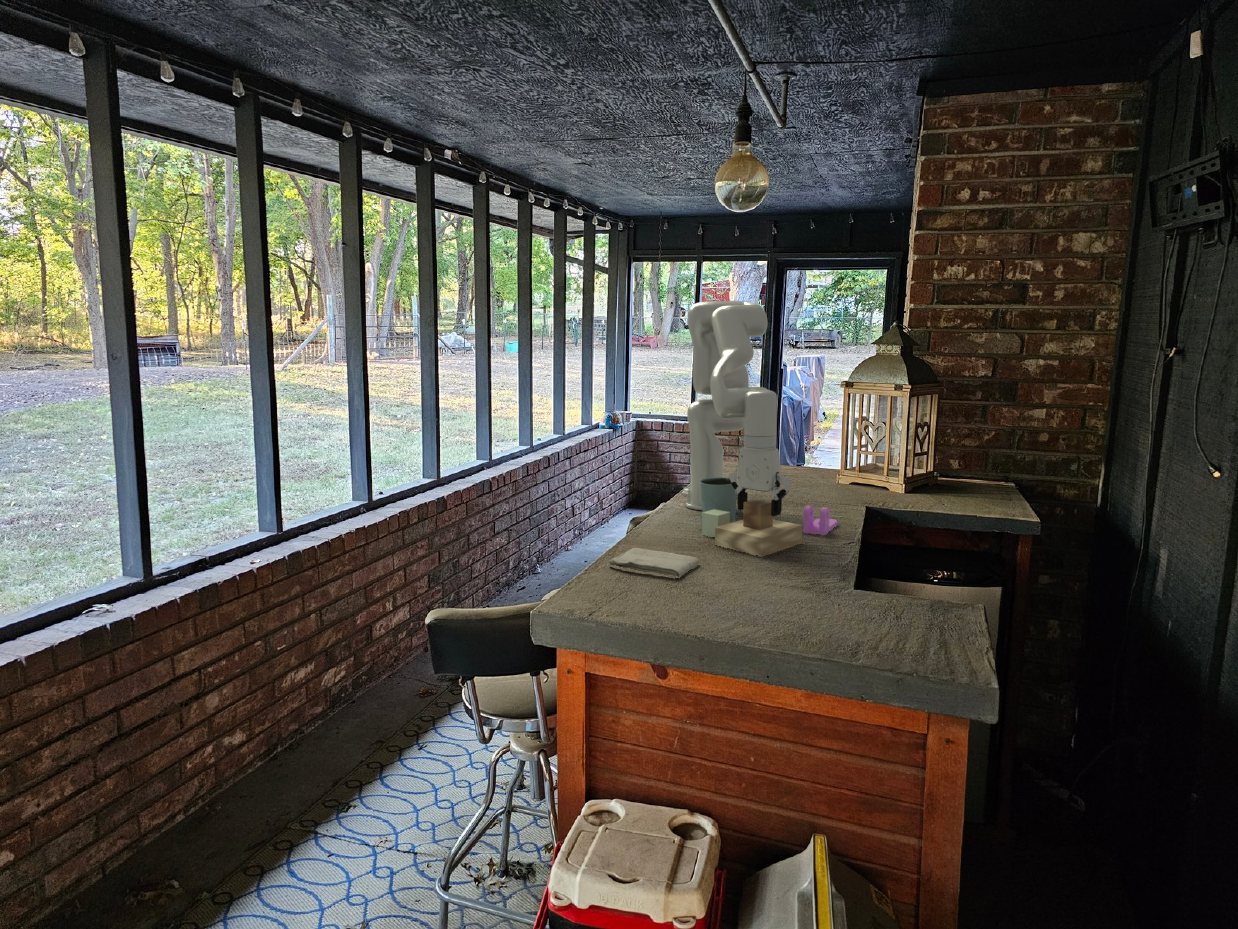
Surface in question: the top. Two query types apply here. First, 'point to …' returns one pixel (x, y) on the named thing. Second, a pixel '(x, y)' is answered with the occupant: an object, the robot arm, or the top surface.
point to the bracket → (817, 521)
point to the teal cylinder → (718, 495)
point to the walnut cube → (757, 514)
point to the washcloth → (655, 561)
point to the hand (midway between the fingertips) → (758, 512)
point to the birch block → (758, 537)
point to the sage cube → (713, 521)
